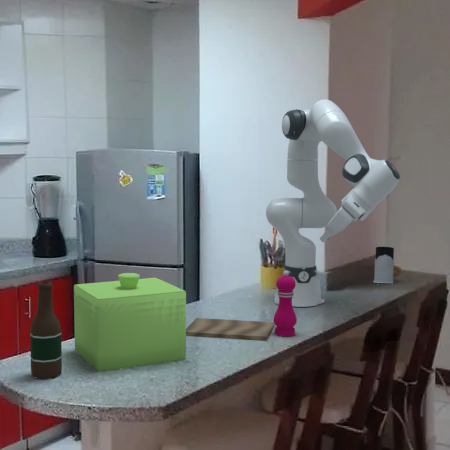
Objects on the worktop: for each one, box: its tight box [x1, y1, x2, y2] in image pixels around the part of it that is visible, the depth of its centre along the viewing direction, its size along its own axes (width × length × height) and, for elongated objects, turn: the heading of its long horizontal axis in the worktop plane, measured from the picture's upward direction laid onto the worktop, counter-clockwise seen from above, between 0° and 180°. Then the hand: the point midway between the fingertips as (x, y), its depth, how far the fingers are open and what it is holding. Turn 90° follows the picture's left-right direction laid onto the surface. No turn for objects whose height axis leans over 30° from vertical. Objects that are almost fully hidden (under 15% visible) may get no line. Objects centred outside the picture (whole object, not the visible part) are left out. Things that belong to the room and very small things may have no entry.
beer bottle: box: [29, 281, 63, 379], centre depth 189 cm, size 8×8×24 cm
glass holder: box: [372, 246, 395, 284], centre depth 318 cm, size 9×14×15 cm, turn 170°
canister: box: [73, 272, 187, 373], centre depth 207 cm, size 25×21×23 cm
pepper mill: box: [273, 270, 298, 337], centre depth 231 cm, size 7×7×20 cm
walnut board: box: [186, 317, 275, 341], centre depth 236 cm, size 26×18×1 cm
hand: (323, 239), depth 226 cm, fingers open, 8 cm apart
